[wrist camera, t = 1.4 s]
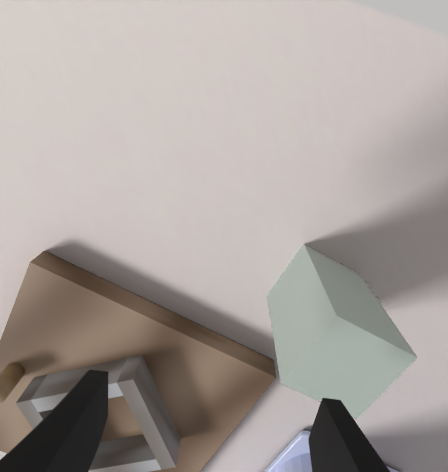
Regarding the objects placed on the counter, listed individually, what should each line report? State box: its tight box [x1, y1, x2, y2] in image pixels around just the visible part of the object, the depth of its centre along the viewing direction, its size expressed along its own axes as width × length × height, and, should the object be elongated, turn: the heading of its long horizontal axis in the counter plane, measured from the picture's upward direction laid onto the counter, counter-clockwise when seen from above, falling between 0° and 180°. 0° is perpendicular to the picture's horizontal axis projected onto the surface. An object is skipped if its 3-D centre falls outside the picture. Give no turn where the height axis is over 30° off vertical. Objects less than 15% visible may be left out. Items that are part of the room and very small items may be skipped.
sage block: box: [267, 244, 418, 419], centre depth 18 cm, size 4×4×7 cm
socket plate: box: [0, 251, 276, 472], centre depth 23 cm, size 16×16×4 cm
